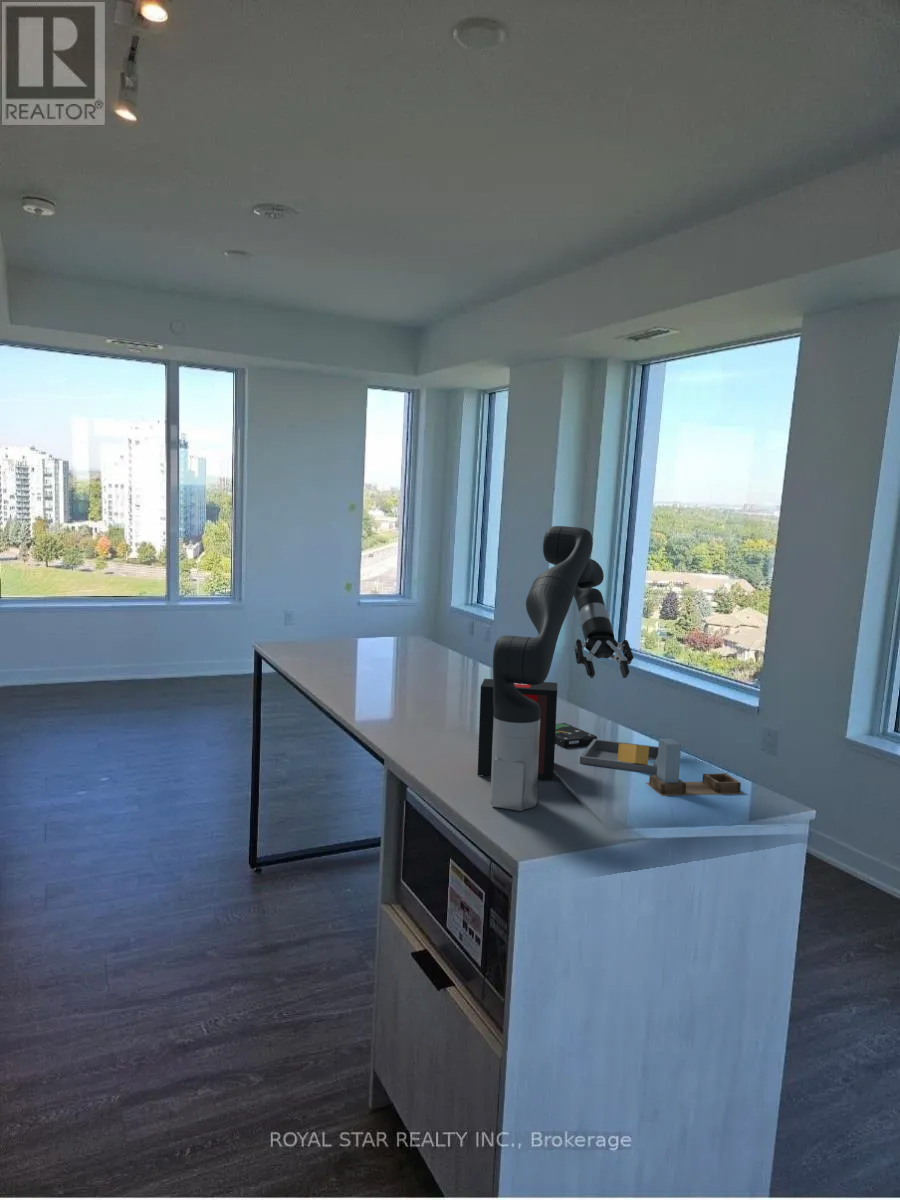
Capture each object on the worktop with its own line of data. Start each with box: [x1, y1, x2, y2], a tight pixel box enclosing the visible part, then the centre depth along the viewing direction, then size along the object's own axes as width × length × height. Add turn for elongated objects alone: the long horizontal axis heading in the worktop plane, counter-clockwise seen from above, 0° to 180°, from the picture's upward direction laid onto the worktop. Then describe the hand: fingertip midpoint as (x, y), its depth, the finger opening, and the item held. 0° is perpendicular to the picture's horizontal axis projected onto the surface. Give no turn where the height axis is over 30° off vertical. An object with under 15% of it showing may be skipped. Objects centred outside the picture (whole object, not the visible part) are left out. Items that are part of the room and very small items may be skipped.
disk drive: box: [555, 722, 598, 749], centre depth 204 cm, size 10×3×15 cm
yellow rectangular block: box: [617, 743, 649, 765], centre depth 178 cm, size 4×3×10 cm
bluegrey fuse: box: [656, 738, 682, 783], centre depth 161 cm, size 4×3×10 cm
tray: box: [579, 738, 659, 775], centre depth 182 cm, size 17×17×3 cm
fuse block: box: [645, 772, 744, 797], centre depth 162 cm, size 8×18×4 cm, turn 99°
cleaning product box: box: [477, 678, 558, 782], centre depth 173 cm, size 16×9×20 cm, turn 82°
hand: (609, 676), depth 192 cm, fingers open, 8 cm apart
